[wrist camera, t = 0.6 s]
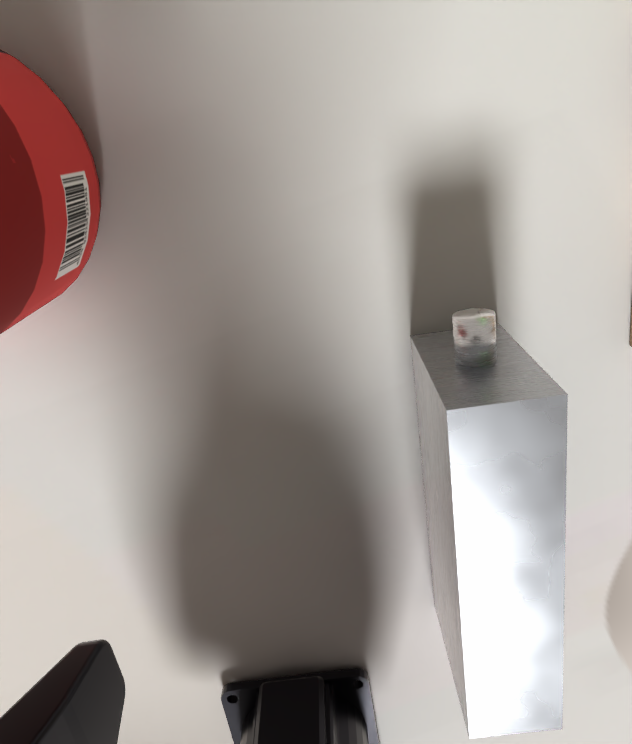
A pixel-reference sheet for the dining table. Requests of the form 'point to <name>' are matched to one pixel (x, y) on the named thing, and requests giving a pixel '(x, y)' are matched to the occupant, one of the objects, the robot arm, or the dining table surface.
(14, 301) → the canned food
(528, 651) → the gray rectangular plank
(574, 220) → the dining table surface
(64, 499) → the dining table surface
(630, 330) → the tool rest
